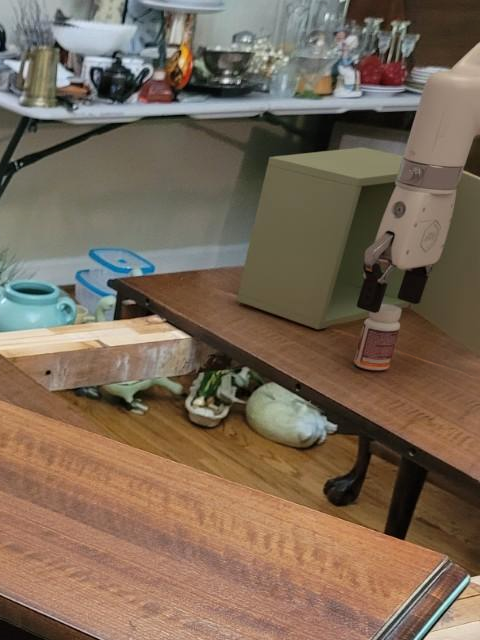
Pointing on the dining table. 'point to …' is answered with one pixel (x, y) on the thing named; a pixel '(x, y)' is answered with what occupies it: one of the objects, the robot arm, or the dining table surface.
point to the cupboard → (319, 235)
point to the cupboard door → (457, 272)
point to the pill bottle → (378, 338)
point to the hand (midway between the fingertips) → (387, 305)
